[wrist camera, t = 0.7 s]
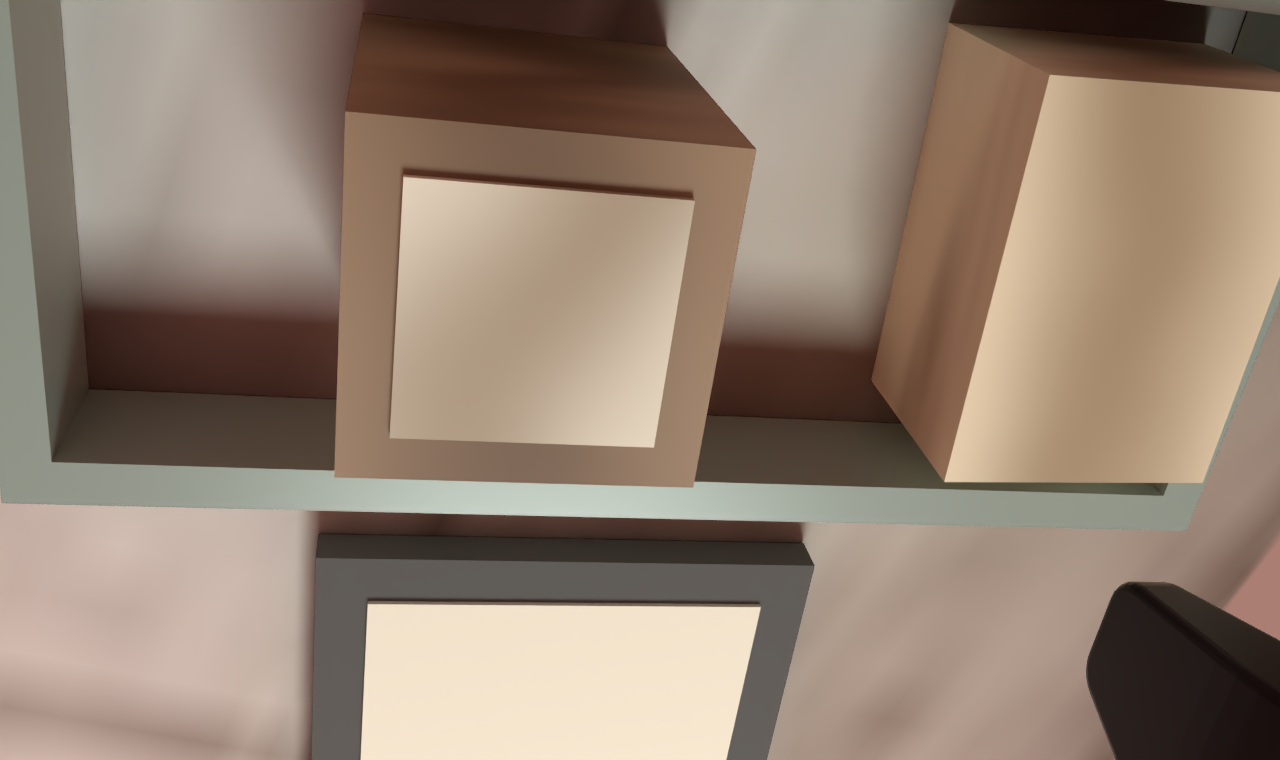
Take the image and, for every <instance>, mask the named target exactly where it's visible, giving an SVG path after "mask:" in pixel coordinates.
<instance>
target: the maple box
mask: <svg viewBox="0 0 1280 760" xmlns="http://www.w3.org/2000/svg"><path fill="white" fill-rule="evenodd" d="M1279 278H1280V72H1278V71H1275V70H1273V69H1270V68H1267V67H1265V66H1262V65H1259V64H1257V63H1254V62H1251V61H1249V60H1246V59H1243V58H1241V57H1238V56H1235V55H1233V54H1230V53H1227V52H1225V51H1222V50H1219V49H1217V48H1214V47H1211V46H1209V45H1206V44H1200V43H1188V42H1176V41H1164V40H1152V39H1140V38H1128V37H1115V36H1103V35H1091V34H1079V33H1067V32H1055V31H1043V30H1030V29H1018V28H1006V27H994V26H982V25H970V24H958V23H948V28H947V32H946V37H945V41H944V46H943V51H942V55H941V60H940V65H939V69H938V74H937V78H936V83H935V88H934V92H933V97H932V102H931V106H930V111H929V115H928V120H927V125H926V129H925V134H924V139H923V143H922V148H921V152H920V157H919V162H918V166H917V171H916V176H915V180H914V185H913V189H912V194H911V199H910V203H909V208H908V213H907V217H906V222H905V226H904V231H903V236H902V240H901V245H900V250H899V254H898V259H897V263H896V268H895V273H894V277H893V282H892V287H891V291H890V296H889V300H888V305H887V310H886V314H885V319H884V324H883V328H882V333H881V337H880V342H879V347H878V351H877V356H876V361H875V365H874V370H873V374H872V379H871V381H872V382H873V384H874V385H875V386H876V388H877V389H878V391H879V392H880V393H881V395H882V396H883V398H884V399H885V400H886V402H887V403H888V404H889V406H890V407H891V409H892V410H893V411H894V413H895V414H896V416H897V417H898V418H899V420H900V421H901V423H902V424H903V425H904V427H905V428H906V430H907V431H908V432H909V434H910V435H911V437H912V438H913V439H914V441H915V442H916V443H917V445H918V446H919V448H920V449H921V450H922V452H923V453H924V455H925V456H926V457H927V459H928V460H929V462H930V463H931V464H932V466H933V467H934V469H935V470H936V471H937V473H938V474H939V476H940V477H941V478H942V480H943V481H944V482H1063V483H1203V481H1204V478H1205V475H1206V473H1207V470H1208V467H1209V465H1210V462H1211V459H1212V457H1213V454H1214V451H1215V449H1216V446H1217V443H1218V441H1219V438H1220V435H1221V433H1222V430H1223V427H1224V425H1225V422H1226V419H1227V417H1228V414H1229V411H1230V409H1231V406H1232V403H1233V401H1234V398H1235V395H1236V393H1237V390H1238V387H1239V385H1240V382H1241V379H1242V377H1243V374H1244V371H1245V368H1246V366H1247V363H1248V360H1249V358H1250V355H1251V352H1252V350H1253V347H1254V344H1255V342H1256V339H1257V336H1258V334H1259V331H1260V328H1261V326H1262V323H1263V320H1264V318H1265V315H1266V312H1267V310H1268V307H1269V304H1270V302H1271V299H1272V296H1273V294H1274V291H1275V288H1276V286H1277V283H1278V280H1279Z"/></svg>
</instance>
